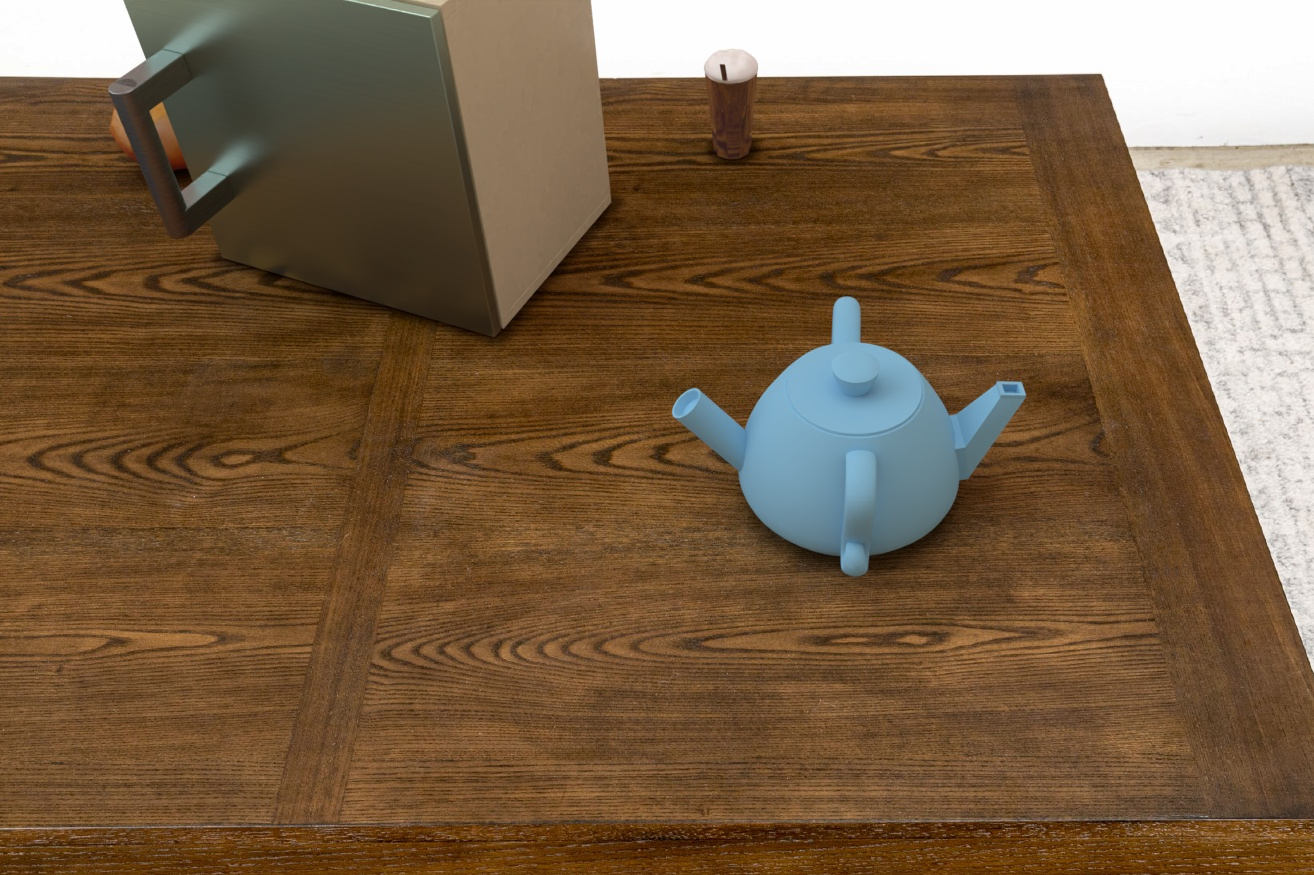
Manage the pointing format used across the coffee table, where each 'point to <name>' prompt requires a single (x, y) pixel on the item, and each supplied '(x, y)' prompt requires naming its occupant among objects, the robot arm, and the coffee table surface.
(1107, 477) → the coffee table surface
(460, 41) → the box
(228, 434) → the coffee table surface
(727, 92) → the milkshake
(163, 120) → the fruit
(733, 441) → the teapot
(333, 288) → the fridge door
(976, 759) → the coffee table surface
